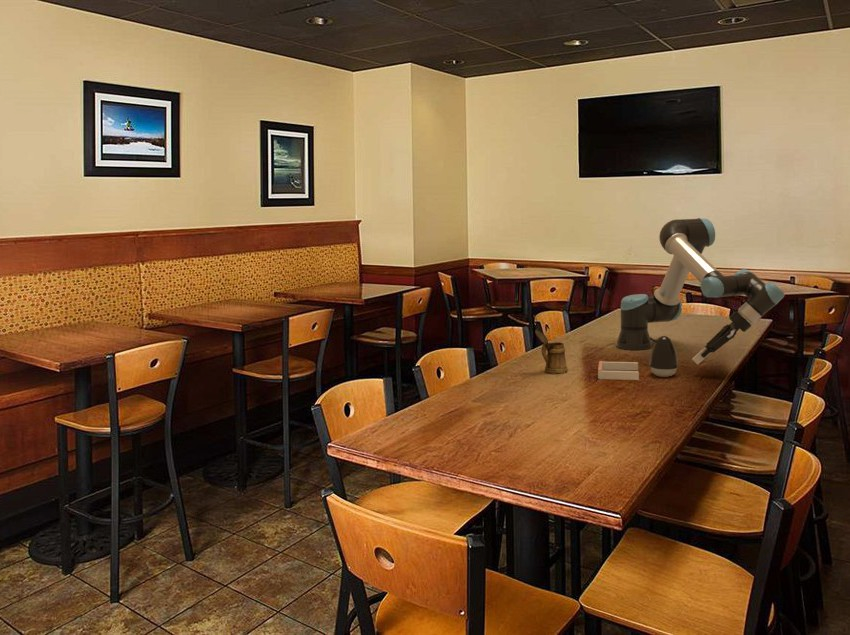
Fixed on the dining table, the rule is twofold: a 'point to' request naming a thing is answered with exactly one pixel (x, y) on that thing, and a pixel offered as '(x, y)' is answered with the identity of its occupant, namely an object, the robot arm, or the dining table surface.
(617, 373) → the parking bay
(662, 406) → the dining table surface
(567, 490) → the dining table surface
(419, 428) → the dining table surface
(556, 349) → the wooden mug
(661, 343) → the black tall rounded piece
